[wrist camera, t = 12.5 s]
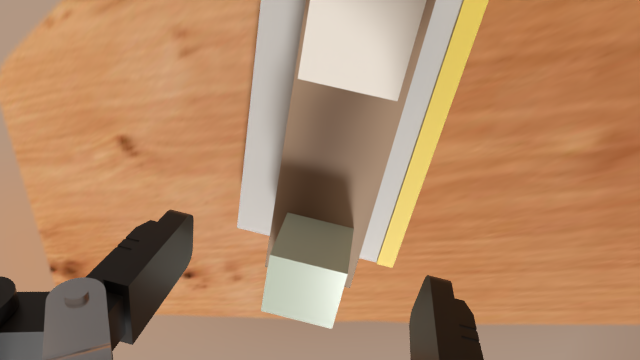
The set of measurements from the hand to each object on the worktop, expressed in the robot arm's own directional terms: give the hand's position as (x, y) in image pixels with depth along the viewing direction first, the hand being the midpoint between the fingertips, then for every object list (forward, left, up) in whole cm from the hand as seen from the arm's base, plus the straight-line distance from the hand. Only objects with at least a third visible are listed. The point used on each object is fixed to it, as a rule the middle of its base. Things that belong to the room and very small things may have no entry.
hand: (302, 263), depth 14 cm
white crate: (0, -7, -9) cm, 11 cm away
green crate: (0, +6, -9) cm, 11 cm away
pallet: (0, 0, -14) cm, 14 cm away
